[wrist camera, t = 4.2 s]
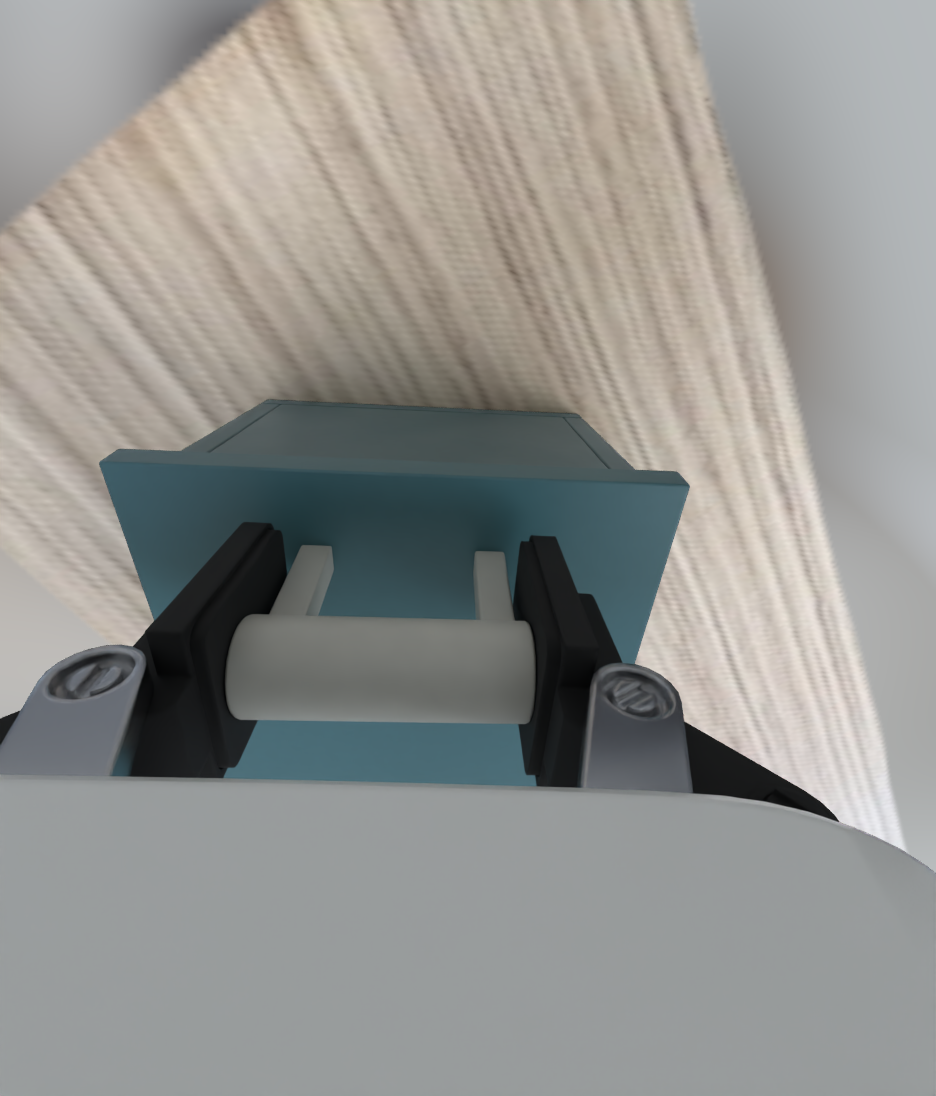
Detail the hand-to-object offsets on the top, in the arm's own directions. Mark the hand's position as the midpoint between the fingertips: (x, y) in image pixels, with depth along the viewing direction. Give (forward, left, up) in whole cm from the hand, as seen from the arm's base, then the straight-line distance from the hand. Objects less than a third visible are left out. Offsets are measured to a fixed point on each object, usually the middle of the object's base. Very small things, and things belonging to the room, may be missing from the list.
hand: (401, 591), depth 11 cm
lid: (+5, 0, -2) cm, 6 cm away
